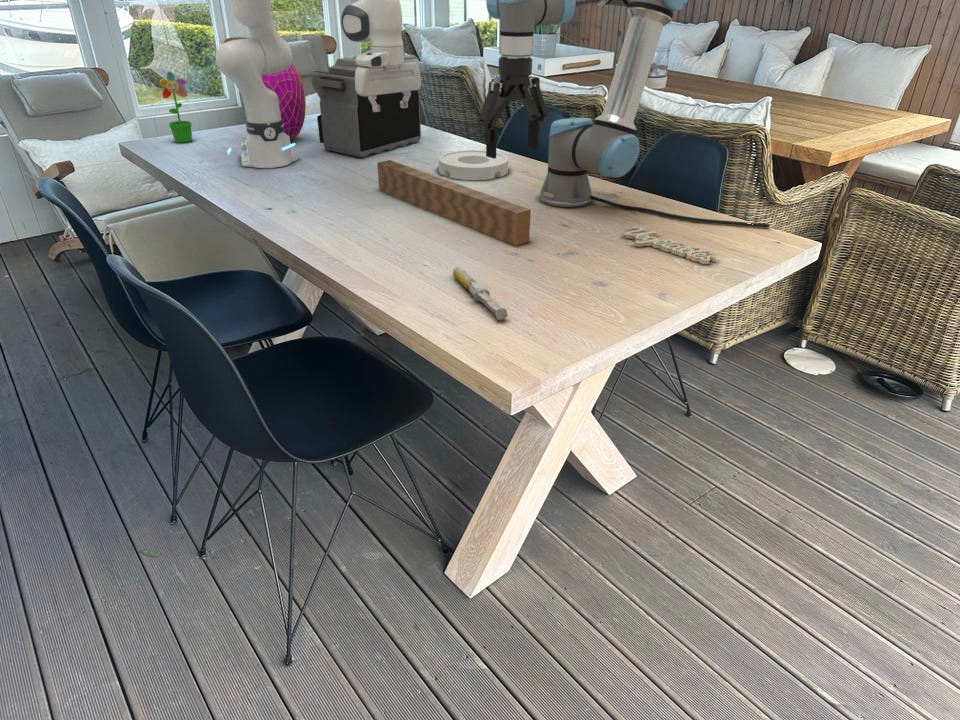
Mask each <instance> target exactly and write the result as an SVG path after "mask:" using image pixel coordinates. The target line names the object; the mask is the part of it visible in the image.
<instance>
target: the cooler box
mask: <svg viewBox="0 0 960 720" xmlns="http://www.w3.org/2000/svg"><path fill="white" fill-rule="evenodd" d="M357 56H358V55H356V56H353V57H350V58H349V57H343V58H342V57H341V58H337V59H336V60H335V63H334V64H333V65H330V66H329V67H328V72H327V71H320V70H314V71H313V70H312V71H310V79H311V87H313V90H314V91H315V93H316V94H317V96H318V98H319V110H320V111H319V112H320V114H319V115H317V116H316V119H317V128H318V138H319V143H320V144H323V146H324V149H325V150H327V151H330V152H335V153H340V154H344V155H348V156H353V157H357V158H362V159H363V158H366V157H367V158H368V157H369V155H371V154H375V155H377V154H381V153H382V152H383V151H391V150H395V149H396V148H397V147H405V146H407V145H408V144H416V143H418V142H419V141H421V137H422V128H421V97H420V92H419V91H420V89H419V90H413V91H411V96H410V98H409V100H408V107H407V108H401V107H400V101H402V100H403V97H404V94H403V92H397V93H389V94H381V95H376V99H375V101H376V103H377V105H380V112H373V108H372V104H371V102H370V101H369V99H368V96H360V95H358V94H357V92H356V89H355V71H356V68H357V67H358V66H359V65H357V64H356V60H355V59H356V57H357Z"/></svg>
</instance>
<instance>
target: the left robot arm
mask: <svg viewBox="0 0 960 720" xmlns="http://www.w3.org/2000/svg"><path fill="white" fill-rule="evenodd" d="M350 1H351V2H352V3H350V4H348V5H346V6H345V7H344V8H343V10H342V12H341V16H340V26H341V29H342V31H343V34H344V35H345V37H346V38H347V39H348V40H350V41H351V42H356V43H363V42H370V49H369V50H367V51H365V52H363V53H361V54H359V55H356V56H357V57H356V56H355V57H356V59H355V60H356V64H357V65H359V66H358V67H357V68H356V71H355V89H356V92H357V94H358V95H360V96H368V99H369V101H370V102H371V104H372V108H373V112H380V105H377V103H376V101H375V99H376V95H381V94H389V93H397V92H403V94H404V97H403V100H402V101H400V107H401V108H407V107H408V100H409V98H410V96H411V91H413V90H419V91H420V89H421V87H422V77H421V71H420V60H419V58H418V57H417V56H416V55H414V54H410V55H405V54H404V53H405V52H404V41H403V36H402V34H403V33H402V32H403V27H404V25H403V12H402V5H401V2H400V0H350ZM232 12H233V16H234V18H235V19H236V21H238V22H239V23H240V24H242V25H244V26H245V27H247V29H248V32H249V38H241V39H232V40H229V41H226V42H223V43H221V44H219V45H218V46H217V49H216V51H215V61H216V65H217V68H218V69H219V70H220V72H221V73H222V74H223V75H224V76H226V77H227V78H228V79H230V80H231V82H233V84H235V86H236V88H237V89H238V91H239V93H240V95H241V98H242V102H243V107H244V112H245V117H246V121H245V128H246V133H247V134H246V137H245V140H244V142H240V148H241V151H243V153H241V154H240V157H241V167H243V168H244V167H245V168H247V167H249V168H257V169H272V168H273V169H274V168H280V167H285V166H288V165H290V164H292V163H294V162H297V161H298V156H296V155H294V154H293V150H292V147H294V146H296V142H293V143H291V140H290V138H289V136H288V135H286V134H285V133H284V124H283V120H282V119H281V114H280V106H279V98H278V96H277V94H276V93H275V92H274V91H272V90H271V89H269V88H266V87H265V85H264V84H263V81H262V77H261V75H269V74H276V73H279V72H282V71H284V70H286V69H288V68H289V67H290V66H291V63H293V51H292V49H291V47H290V45H289V44H288V42H287V41H286V40H285V39H284V38H282V36H281V35H280V34H279V32H278V30H277V28H276V26H275V23H274V20H273V14H272V5H271V0H232ZM231 152H232V147H229V148H228V150H227V152H226V153H227V155H230V153H231Z"/></svg>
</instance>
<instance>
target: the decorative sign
mask: <svg viewBox="0 0 960 720" xmlns="http://www.w3.org/2000/svg"><path fill="white" fill-rule="evenodd" d="M624 238H626V239H629V240H630V239H631V240H634V247H636V248H639V247H653V248H655V249H660V250H661V251H663V252H667V253H671V254H673V255H677V256H679V257H685V259H687V260H691V261H693V262H696V263H697V262H698V263H700V264H702V265H709V264H710V261H711V262H712V263H715V262H716V258H717V257H716V256H715V255H711V254H710V250H709V249H700V247H699V246H697V245H696V246H686V247H685V246H684V245H683V243H682V242H681V241H677V240H676V241H675V240H673V239H667V240H666V239H662V238H658V237H657V232H656V231H645V228H643V227H639V226H631V229H630V231H625V234H624ZM709 254H710V255H709Z"/></svg>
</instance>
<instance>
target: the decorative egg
mask: <svg viewBox="0 0 960 720" xmlns="http://www.w3.org/2000/svg"><path fill="white" fill-rule="evenodd" d="M261 77H262V81H263V84H264V85H265V87H266V88H269V89H271V90H272V91H274V92H275V93H276V94H277V96H278V98H279V106H280V114H281V119H282V120H283V124H284V133H285V134H286V135H288V136H289V138H290V141H291V140H293V139H296V138H297V137H298V136H299V134H301V131H302V129H303V127H304V123H305V118H306V104H307V103H306V102H307V101H306V99H307V97H306V93H305V88H304V84H303V81H302V77H301V75H300V73H299V71H298V69H297V67H296V66H295V65H294V63H293V62H292V63H291V66H290V67H289V68H288V69H286V70H284V71H282V72H279V73H276V74H269V75H261Z"/></svg>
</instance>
